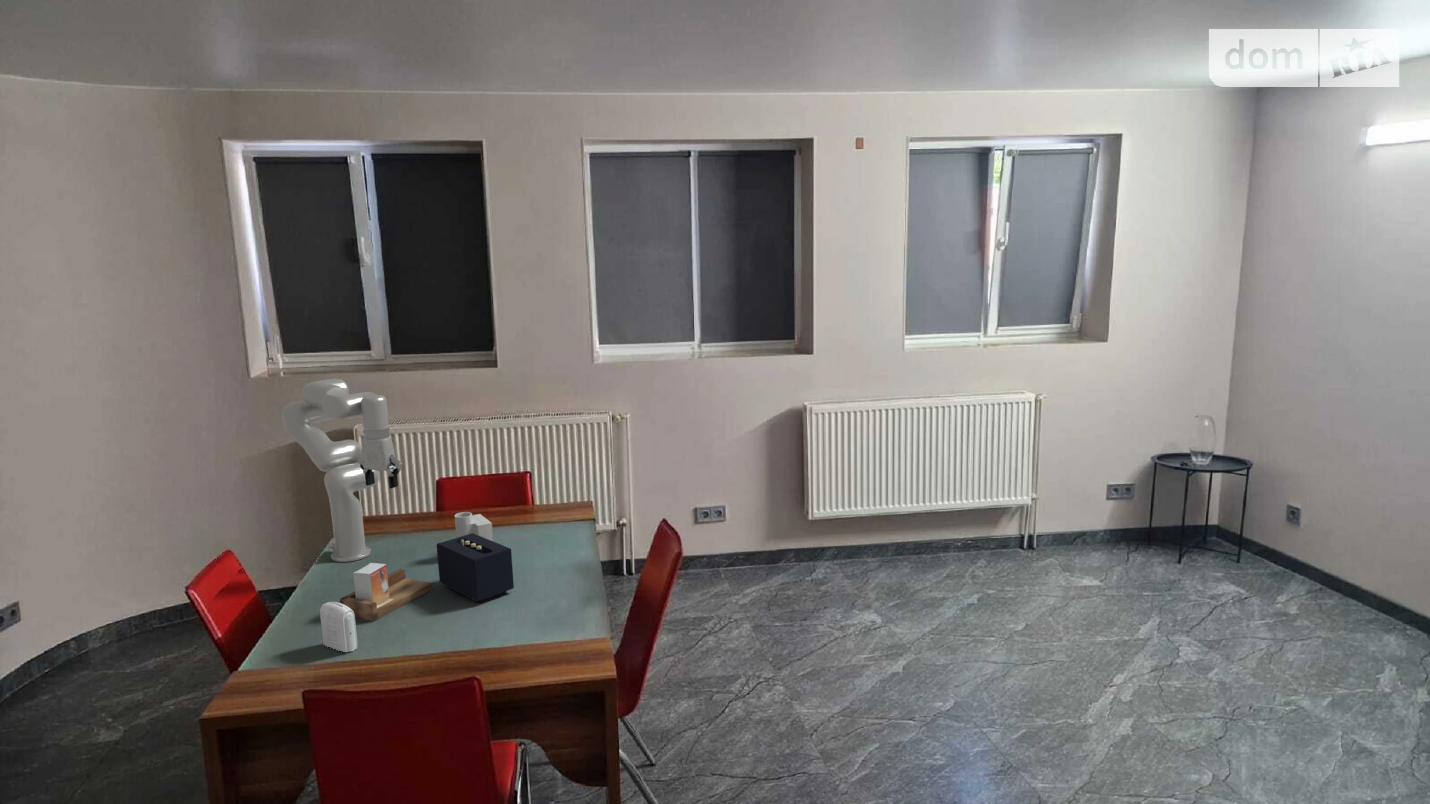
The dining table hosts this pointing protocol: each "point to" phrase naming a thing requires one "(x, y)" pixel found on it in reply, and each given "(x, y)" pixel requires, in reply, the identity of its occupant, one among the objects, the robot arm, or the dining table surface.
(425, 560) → the dining table surface
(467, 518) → the white desk organizer
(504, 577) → the speaker
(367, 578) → the small box
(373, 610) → the wooden tray
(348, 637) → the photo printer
